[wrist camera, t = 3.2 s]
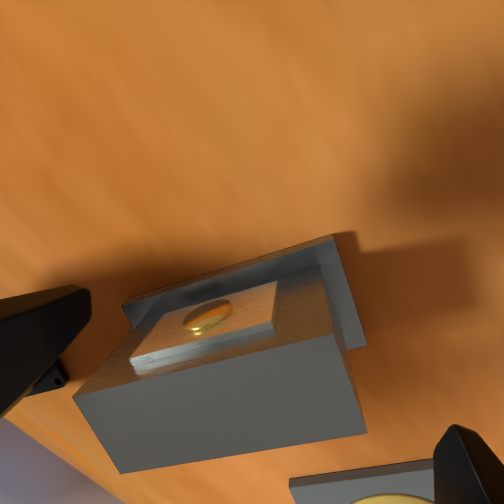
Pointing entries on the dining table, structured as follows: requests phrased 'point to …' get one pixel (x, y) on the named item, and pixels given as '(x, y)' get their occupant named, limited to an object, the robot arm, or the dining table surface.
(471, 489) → the robot arm
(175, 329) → the lamp housing
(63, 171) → the dining table surface
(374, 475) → the parts mat
